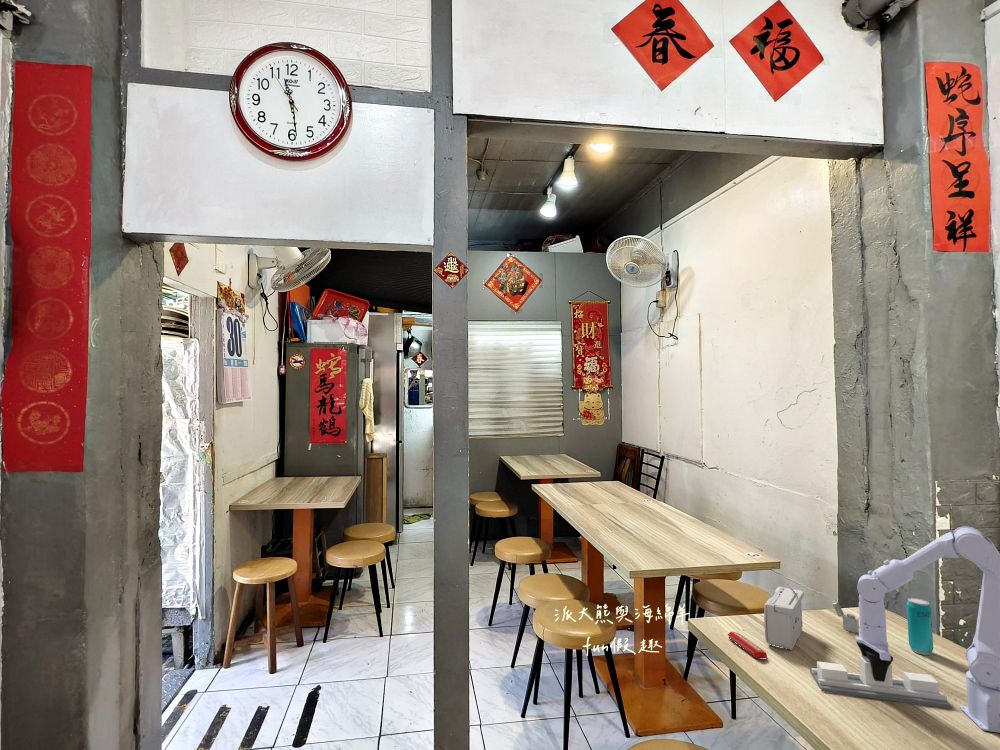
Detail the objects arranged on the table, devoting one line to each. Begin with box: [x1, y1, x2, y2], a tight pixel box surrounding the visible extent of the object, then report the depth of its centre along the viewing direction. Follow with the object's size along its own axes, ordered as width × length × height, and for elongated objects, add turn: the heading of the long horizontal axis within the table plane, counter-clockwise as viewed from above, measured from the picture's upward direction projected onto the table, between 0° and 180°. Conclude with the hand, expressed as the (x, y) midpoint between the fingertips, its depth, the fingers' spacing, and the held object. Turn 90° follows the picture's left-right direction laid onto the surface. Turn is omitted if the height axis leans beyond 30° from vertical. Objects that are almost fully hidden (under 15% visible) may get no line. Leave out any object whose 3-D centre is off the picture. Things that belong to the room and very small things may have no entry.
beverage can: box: [906, 597, 934, 656], centre depth 155 cm, size 6×6×15 cm
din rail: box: [809, 667, 952, 710], centre depth 134 cm, size 10×28×2 cm, turn 74°
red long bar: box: [727, 631, 769, 660], centre depth 157 cm, size 16×4×3 cm, turn 9°
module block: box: [858, 655, 893, 688], centre depth 134 cm, size 4×6×6 cm, turn 74°
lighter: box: [831, 601, 860, 634], centre depth 171 cm, size 7×2×8 cm, turn 38°
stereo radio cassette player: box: [763, 583, 805, 651], centre depth 164 cm, size 21×8×20 cm, turn 141°
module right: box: [902, 671, 940, 694], centre depth 131 cm, size 4×6×4 cm, turn 74°
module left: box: [816, 661, 848, 682], centre depth 137 cm, size 4×6×4 cm, turn 74°
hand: (875, 676), depth 134 cm, fingers closed on module block, 4 cm apart
